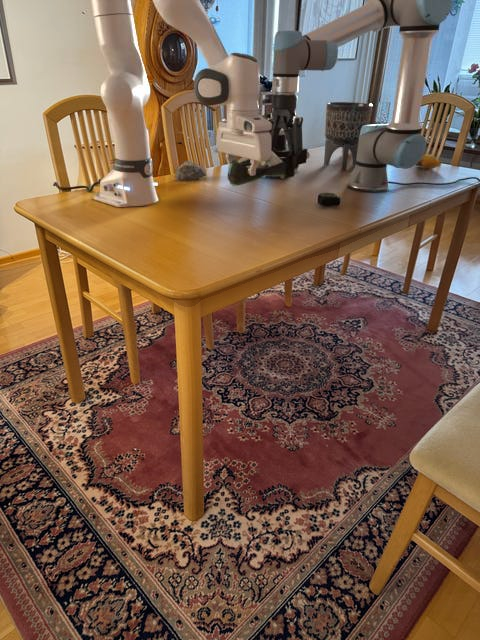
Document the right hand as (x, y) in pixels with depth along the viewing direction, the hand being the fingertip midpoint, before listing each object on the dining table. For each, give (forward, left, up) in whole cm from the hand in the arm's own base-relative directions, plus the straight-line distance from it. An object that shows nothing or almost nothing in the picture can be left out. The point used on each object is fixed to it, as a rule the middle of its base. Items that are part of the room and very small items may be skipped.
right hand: (280, 174), depth 143 cm
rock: (+35, -39, -12) cm, 53 cm away
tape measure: (-17, -7, -12) cm, 22 cm away
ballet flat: (+6, +6, -1) cm, 8 cm away
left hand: (+11, +11, +3) cm, 16 cm away
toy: (-69, -79, -12) cm, 105 cm away
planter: (-30, -73, -12) cm, 80 cm away
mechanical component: (-1, -55, -12) cm, 56 cm away
